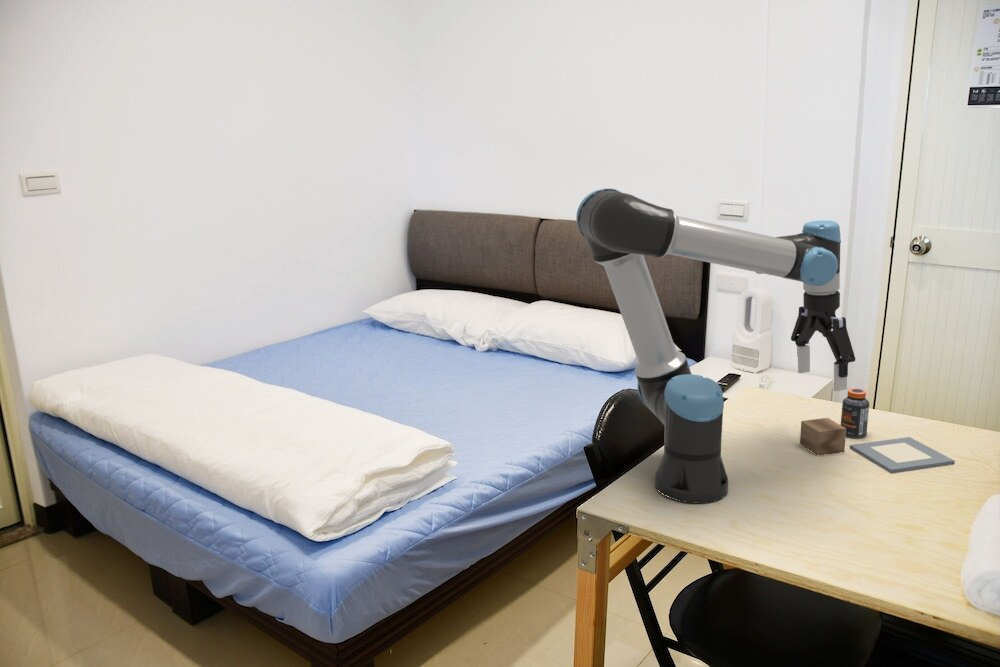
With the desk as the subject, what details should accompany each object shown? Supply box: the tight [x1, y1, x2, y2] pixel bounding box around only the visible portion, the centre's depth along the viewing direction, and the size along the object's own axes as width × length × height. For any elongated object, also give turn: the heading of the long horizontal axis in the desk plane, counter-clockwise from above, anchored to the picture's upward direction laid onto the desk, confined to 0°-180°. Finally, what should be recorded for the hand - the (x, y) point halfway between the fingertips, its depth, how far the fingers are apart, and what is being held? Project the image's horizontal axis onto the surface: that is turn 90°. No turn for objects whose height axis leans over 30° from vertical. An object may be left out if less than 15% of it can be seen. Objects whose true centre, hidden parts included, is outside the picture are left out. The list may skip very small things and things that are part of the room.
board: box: [849, 436, 955, 474], centre depth 177 cm, size 16×14×1 cm
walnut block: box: [799, 417, 847, 456], centre depth 182 cm, size 7×7×6 cm
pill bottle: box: [840, 387, 870, 439], centre depth 188 cm, size 6×6×11 cm
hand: (821, 380), depth 179 cm, fingers open, 13 cm apart
